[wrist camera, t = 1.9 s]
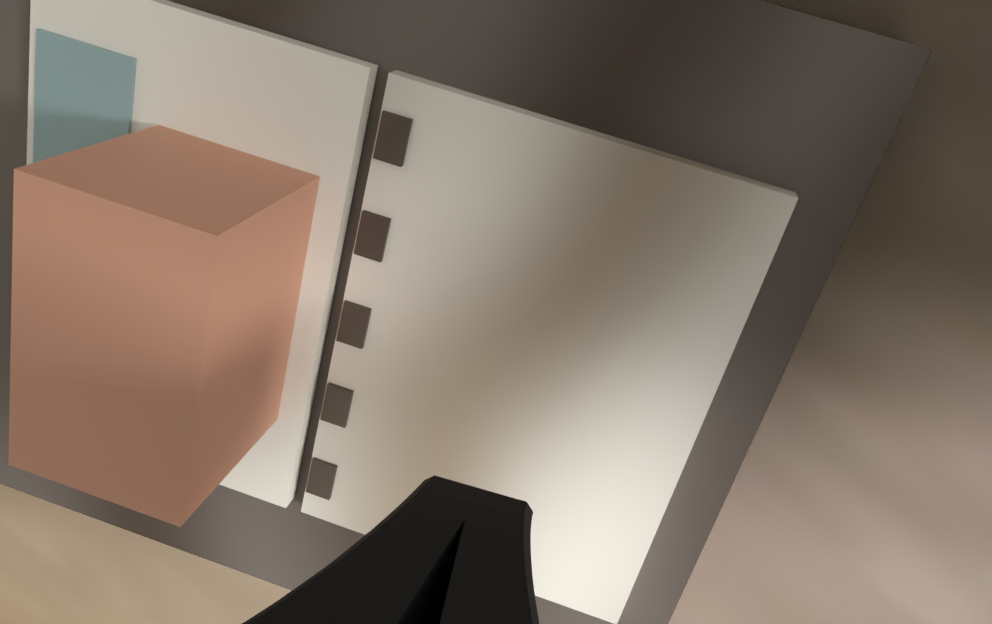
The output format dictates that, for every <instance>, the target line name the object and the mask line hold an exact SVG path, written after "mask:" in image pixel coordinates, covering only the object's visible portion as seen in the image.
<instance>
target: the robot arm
mask: <svg viewBox="0 0 992 624" xmlns="http://www.w3.org/2000/svg"><path fill="white" fill-rule="evenodd" d="M532 515H533V511H532V509H531V508H530V506H529V504H528V503H527V502H526V501H522V500H519V499H515V498H512V497H508V496H505V495H501V494H498V493H494V492H491V491H487V490H484V489H481V488H477V487H474V486H470V485H467V484H463V483H460V482H456V481H453V480H449V479H446V478H442V477H439V476H435V475H434V476H432V477H430V478H428V479H426V480H424V481H423V482H422V483H421V484H420V485H419V486H418V487H417V488H416V489H415V490H414V491H413V492H412V493H411V494H410V495H409V496H408V497H407V498H406V499H405V500H404V501H403V502H402V503H401V504H400V505H399V506H398V507H397V508H396V509H395V510H393V511H392V512H391V513H390V514H389V515H388V516H387V517H386V518H385V519H383V520H382V521H381V522H380V523H379V524H378V525H377V526H375V527H374V528H373V529H372V530H371V531H370V532H368V533H367V534H366V535H365V536H363V537H362V538H361V539H360V540H359V541H357V542H356V543H355V544H354V545H352V546H351V547H350V548H349V549H347V550H346V551H345V552H344V553H342V554H341V555H340V556H339V557H338V558H336V559H335V560H334V561H332V562H331V563H330V564H329V565H327V566H326V567H325V568H323V569H322V570H320V571H319V572H318V573H316V574H315V575H313V576H312V577H311V578H309V579H308V580H306V581H305V582H304V583H302V584H301V585H299V586H298V587H297V588H295V589H294V590H292V591H291V592H290V593H288V594H287V595H285V596H284V597H282V598H281V599H280V600H278V601H277V602H275V603H274V604H272V605H271V606H269V607H268V608H266V609H265V610H263V611H261V612H260V613H258V614H257V615H255V616H254V617H252V618H250V619H249V620H247V621H246V622H244V623H242V624H539V618H538V612H537V606H536V600H535V593H534V585H533V576H532V563H531V521H532Z"/></svg>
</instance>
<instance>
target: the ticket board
mask: <svg viewBox="0 0 992 624" xmlns="http://www.w3.org/2000/svg"><path fill="white" fill-rule="evenodd" d="M168 1H171V2H174V3H177V4H181V5H184V6H187V7H190V8H194V9H197V10H200V11H204V12H207V13H210V14H213V15H217V16H220V17H223V18H226V19H230V20H233V21H236V22H239V23H243V24H246V25H249V26H252V27H256V28H259V29H262V30H266V31H269V32H272V33H275V34H279V35H282V36H285V37H288V38H292V39H295V40H298V41H301V42H305V43H308V44H311V45H315V46H318V47H321V48H324V49H328V50H331V51H334V52H337V53H341V54H344V55H347V56H350V57H354V58H357V59H360V60H363V61H367V62H370V63H373V64H377V65H378V69H377V74H376V79H375V85H374V90H373V95H372V100H371V105H370V110H369V115H368V121H367V126H366V131H365V136H364V141H363V146H362V151H361V157H360V162H359V167H358V172H357V177H356V182H355V187H354V193H353V198H352V203H351V208H350V213H349V218H348V223H347V229H346V234H345V239H344V244H343V249H342V254H341V259H340V265H339V270H338V275H337V280H336V285H335V290H334V295H333V301H332V306H331V311H330V316H329V321H328V326H327V331H326V337H325V342H324V347H323V352H322V357H321V362H320V367H319V373H318V378H317V383H316V388H315V393H314V398H313V403H312V409H311V414H310V419H309V424H308V429H307V434H306V439H305V445H304V450H303V455H302V460H301V465H300V470H299V475H298V481H297V486H296V491H295V496H294V498H293V500H292V501H291V502H290V504H289V505H288V506H287V508H284V507H281V506H278V505H275V504H273V503H270V502H267V501H264V500H261V499H259V498H256V497H253V496H250V495H247V494H245V493H242V492H239V491H236V490H233V489H231V488H228V487H225V486H222V485H218V486H217V487H216V488H215V489H214V490H213V491H212V493H211V494H210V495H209V496H208V497H207V498H206V499H205V500H204V501H203V503H202V504H201V505H200V506H199V507H198V508H197V509H196V510H195V511H194V513H193V514H192V515H191V516H190V517H189V518H188V519H187V520H186V521H185V523H184V524H183V525H182V526H181V527H178V526H176V525H173V524H170V523H167V522H165V521H162V520H159V519H156V518H154V517H151V516H148V515H145V514H143V513H140V512H137V511H134V510H132V509H129V508H126V507H123V506H121V505H118V504H115V503H112V502H110V501H107V500H104V499H101V498H99V497H96V496H93V495H90V494H88V493H85V492H82V491H79V490H77V489H74V488H71V487H68V486H66V485H63V484H60V483H57V482H55V481H52V480H49V479H46V478H44V477H41V476H38V475H35V474H33V473H30V472H27V471H24V470H22V469H19V468H16V467H13V466H11V465H8V459H9V404H10V350H11V295H12V240H13V185H14V169H15V168H18V167H21V166H25V165H27V125H28V84H29V44H30V3H31V0H0V484H3V485H5V486H8V487H11V488H13V489H16V490H19V491H22V492H24V493H27V494H30V495H33V496H35V497H38V498H41V499H44V500H46V501H49V502H52V503H54V504H57V505H60V506H63V507H65V508H68V509H71V510H74V511H76V512H79V513H82V514H84V515H87V516H90V517H93V518H95V519H98V520H101V521H104V522H106V523H109V524H112V525H115V526H117V527H120V528H123V529H125V530H128V531H131V532H134V533H136V534H139V535H142V536H145V537H147V538H150V539H153V540H156V541H158V542H161V543H164V544H166V545H169V546H172V547H175V548H177V549H180V550H183V551H186V552H188V553H191V554H194V555H197V556H199V557H202V558H205V559H207V560H210V561H213V562H216V563H218V564H221V565H224V566H227V567H229V568H232V569H235V570H238V571H240V572H243V573H246V574H248V575H251V576H254V577H257V578H259V579H262V580H265V581H268V582H270V583H273V584H276V585H278V586H281V587H284V588H287V589H289V590H294V589H295V588H297V587H298V586H299V585H301V584H302V583H304V582H305V581H306V580H308V579H309V578H311V577H312V576H313V575H315V574H316V573H318V572H319V571H320V570H322V569H323V568H325V567H326V566H327V565H329V564H330V563H331V562H332V561H334V560H335V559H336V558H338V557H339V556H340V555H341V554H342V553H344V552H345V551H346V550H347V549H349V548H350V547H351V546H352V545H354V544H355V543H356V542H357V541H359V540H360V539H361V538H362V537H363V536H365V535H366V534H367V533H368V532H370V531H371V530H372V529H373V528H374V527H375V526H377V525H378V524H379V523H380V522H381V521H382V520H383V519H385V518H386V517H387V516H388V515H389V514H390V513H391V512H392V511H393V510H395V509H396V508H397V507H398V506H399V505H400V504H401V503H402V502H403V501H404V500H405V499H406V498H407V497H408V496H409V495H410V494H411V493H412V492H413V491H414V490H415V489H416V488H417V487H418V486H419V485H420V484H421V483H422V482H423V481H424V480H426V479H428V478H430V477H432V476H434V475H435V476H439V477H442V478H446V479H449V480H453V481H456V482H460V483H463V484H467V485H470V486H474V487H477V488H481V489H484V490H487V491H491V492H494V493H498V494H501V495H505V496H508V497H512V498H515V499H519V500H522V501H526V502H527V503H528V504H529V506H530V508H531V509H532V511H533V515H532V521H531V563H532V576H533V585H534V593H535V600H536V606H537V612H538V618H539V624H668V623H669V621H670V619H671V616H672V614H673V612H674V610H675V608H676V606H677V603H678V601H679V599H680V597H681V595H682V593H683V590H684V588H685V586H686V584H687V582H688V579H689V577H690V575H691V573H692V571H693V569H694V566H695V564H696V562H697V560H698V558H699V556H700V553H701V551H702V549H703V547H704V545H705V543H706V540H707V538H708V536H709V534H710V532H711V529H712V527H713V525H714V523H715V521H716V519H717V516H718V514H719V512H720V510H721V508H722V506H723V503H724V501H725V499H726V497H727V495H728V493H729V490H730V488H731V486H732V484H733V482H734V480H735V477H736V475H737V473H738V471H739V469H740V466H741V464H742V462H743V460H744V458H745V456H746V453H747V451H748V449H749V447H750V445H751V443H752V440H753V438H754V436H755V434H756V432H757V430H758V427H759V425H760V423H761V421H762V419H763V417H764V414H765V412H766V410H767V408H768V406H769V403H770V401H771V399H772V397H773V395H774V393H775V390H776V388H777V386H778V384H779V382H780V380H781V377H782V375H783V373H784V371H785V369H786V367H787V364H788V362H789V360H790V358H791V356H792V354H793V351H794V349H795V347H796V345H797V343H798V340H799V338H800V336H801V334H802V332H803V330H804V327H805V325H806V323H807V321H808V319H809V317H810V314H811V312H812V310H813V308H814V306H815V304H816V301H817V299H818V297H819V295H820V293H821V290H822V288H823V286H824V284H825V282H826V280H827V277H828V275H829V273H830V271H831V269H832V267H833V264H834V262H835V260H836V258H837V256H838V254H839V251H840V249H841V247H842V245H843V243H844V241H845V238H846V236H847V234H848V232H849V230H850V227H851V225H852V223H853V221H854V219H855V217H856V214H857V212H858V210H859V208H860V206H861V204H862V201H863V199H864V197H865V195H866V193H867V191H868V188H869V186H870V184H871V182H872V180H873V178H874V175H875V173H876V171H877V169H878V167H879V164H880V162H881V160H882V158H883V156H884V154H885V151H886V149H887V147H888V145H889V143H890V141H891V138H892V136H893V134H894V132H895V130H896V128H897V125H898V123H899V121H900V119H901V117H902V115H903V112H904V110H905V108H906V106H907V104H908V101H909V99H910V97H911V95H912V93H913V91H914V88H915V86H916V84H917V82H918V80H919V78H920V75H921V73H922V71H923V69H924V67H925V65H926V62H927V60H928V58H929V56H930V54H931V51H930V50H928V49H925V48H922V47H919V46H916V45H914V44H911V43H908V42H905V41H901V40H898V39H894V38H891V37H887V36H884V35H880V34H877V33H873V32H870V31H866V30H863V29H859V28H856V27H852V26H849V25H845V24H842V23H838V22H835V21H832V20H828V19H825V18H821V17H818V16H814V15H811V14H807V13H804V12H800V11H797V10H793V9H790V8H786V7H783V6H779V5H776V4H772V3H769V2H765V1H762V0H168Z"/></svg>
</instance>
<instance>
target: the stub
mask: <svg viewBox="0 0 992 624" xmlns="http://www.w3.org/2000/svg"><path fill="white" fill-rule="evenodd" d="M377 69H378V65H377V64H373V63H370V62H367V61H363V60H360V59H357V58H354V57H350V56H347V55H344V54H341V53H337V52H334V51H331V50H328V49H324V48H321V47H318V46H315V45H311V44H308V43H305V42H301V41H298V40H295V39H292V38H288V37H285V36H282V35H279V34H275V33H272V32H269V31H266V30H262V29H259V28H256V27H252V26H249V25H246V24H243V23H239V22H236V21H233V20H230V19H226V18H223V17H220V16H217V15H213V14H210V13H207V12H204V11H200V10H197V9H194V8H190V7H187V6H184V5H181V4H177V3H174V2H171V1H168V0H31V3H30V44H29V84H28V125H27V165H25V166H21V167H18V168H15V169H14V185H13V240H12V295H11V350H10V404H9V459H8V465H11V466H13V467H16V468H19V469H22V470H24V471H27V472H30V473H33V474H35V475H38V476H41V477H44V478H46V479H49V480H52V481H55V482H57V483H60V484H63V485H66V486H68V487H71V488H74V489H77V490H79V491H82V492H85V493H88V494H90V495H93V496H96V497H99V498H101V499H104V500H107V501H110V502H112V503H115V504H118V505H121V506H123V507H126V508H129V509H132V510H134V511H137V512H140V513H143V514H145V515H148V516H151V517H154V518H156V519H159V520H162V521H165V522H167V523H170V524H173V525H176V526H178V527H181V526H182V525H183V524H184V523H185V521H186V520H187V519H188V518H189V517H190V516H191V515H192V514H193V513H194V511H195V510H196V509H197V508H198V507H199V506H200V505H201V504H202V503H203V501H204V500H205V499H206V498H207V497H208V496H209V495H210V494H211V493H212V491H213V490H214V489H215V488H216V487H217V486H218V485H222V486H225V487H228V488H231V489H233V490H236V491H239V492H242V493H245V494H247V495H250V496H253V497H256V498H259V499H261V500H264V501H267V502H270V503H273V504H275V505H278V506H281V507H284V508H287V506H288V505H289V504H290V502H291V501H292V500H293V498H294V496H295V491H296V486H297V481H298V475H299V470H300V465H301V460H302V455H303V450H304V445H305V439H306V434H307V429H308V424H309V419H310V414H311V409H312V403H313V398H314V393H315V388H316V383H317V378H318V373H319V367H320V362H321V357H322V352H323V347H324V342H325V337H326V331H327V326H328V321H329V316H330V311H331V306H332V301H333V295H334V290H335V285H336V280H337V275H338V270H339V265H340V259H341V254H342V249H343V244H344V239H345V234H346V229H347V223H348V218H349V213H350V208H351V203H352V198H353V193H354V187H355V182H356V177H357V172H358V167H359V162H360V157H361V151H362V146H363V141H364V136H365V131H366V126H367V121H368V115H369V110H370V105H371V100H372V95H373V90H374V85H375V79H376V74H377Z"/></svg>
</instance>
